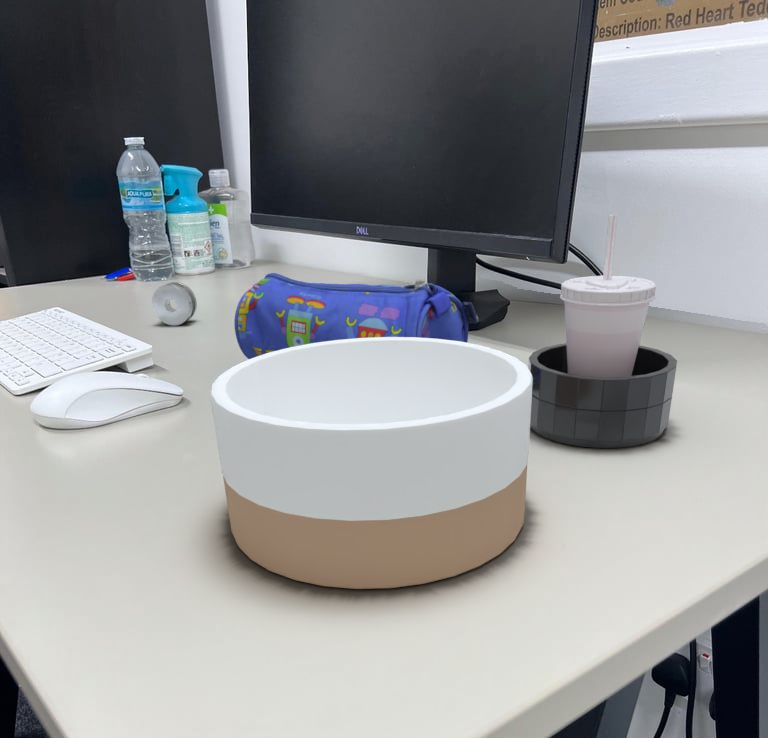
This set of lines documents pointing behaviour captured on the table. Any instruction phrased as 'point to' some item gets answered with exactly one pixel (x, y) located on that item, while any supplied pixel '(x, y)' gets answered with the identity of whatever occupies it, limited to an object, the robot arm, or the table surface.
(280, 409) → the bowl
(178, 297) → the metal grooved wheel
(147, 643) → the table surface
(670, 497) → the table surface
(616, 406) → the dark grey round pot
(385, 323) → the pencil case
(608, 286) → the smoothie
